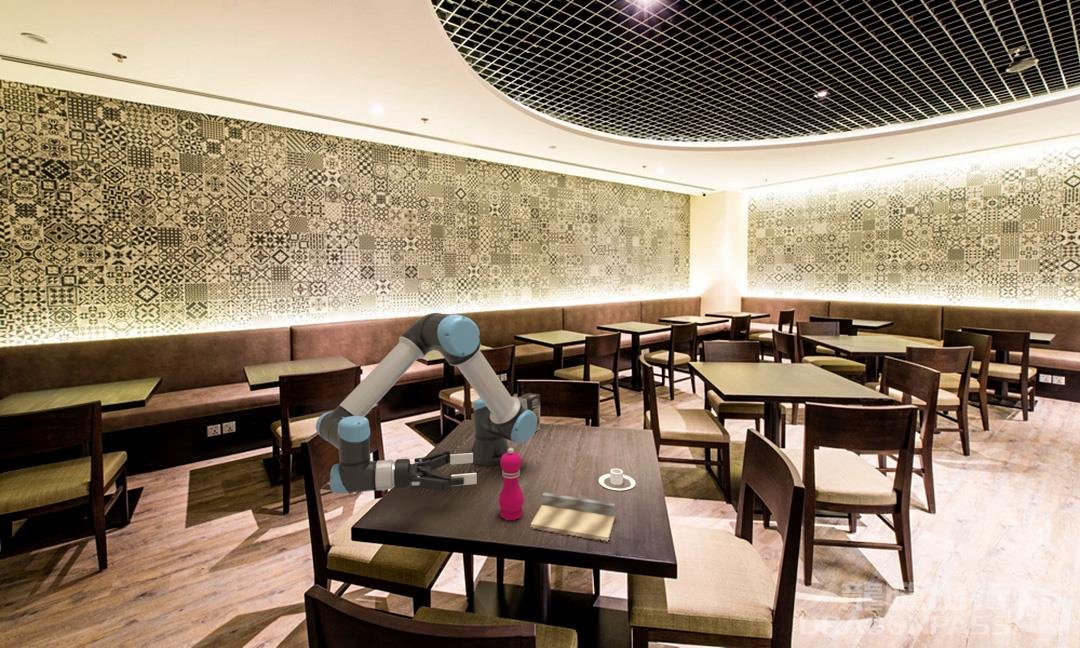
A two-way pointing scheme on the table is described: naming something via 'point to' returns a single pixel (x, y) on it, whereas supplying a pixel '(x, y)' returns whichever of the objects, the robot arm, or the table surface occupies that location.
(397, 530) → the table surface
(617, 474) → the candle holder
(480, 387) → the robot arm
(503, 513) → the pepper mill
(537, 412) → the coffee box
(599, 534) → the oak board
